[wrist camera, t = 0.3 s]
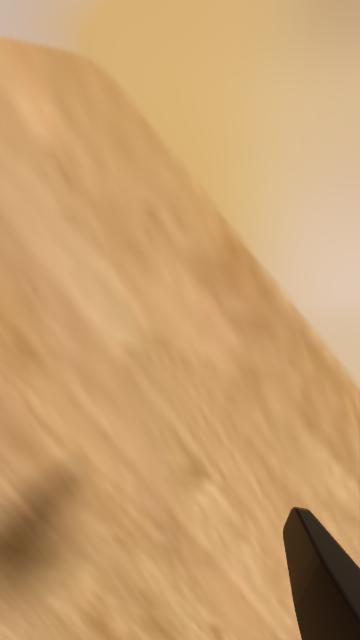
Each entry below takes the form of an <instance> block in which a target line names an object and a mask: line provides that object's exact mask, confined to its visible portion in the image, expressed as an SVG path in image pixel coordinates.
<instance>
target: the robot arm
mask: <svg viewBox="0 0 360 640" xmlns="http://www.w3.org/2000/svg"><path fill="white" fill-rule="evenodd" d="M283 539H284V545H285V552H286V558H287V564H288V571H289V577H290V583H291V590H292V596H293V602H294V607H295V612H296V617H297V621H298V625H299V629H300V634H301V638H302V640H360V568H359V567H358V566H357V565H356V563H355V562H354V561H353V560H352V559H351V558H350V556H349V555H348V554H347V553H346V552H345V551H344V549H343V548H342V547H341V546H340V545H339V544H338V543H337V541H336V540H335V539H334V538H333V537H332V536H331V534H330V533H329V532H328V531H327V530H326V529H325V528H324V526H323V525H322V524H321V523H320V522H319V521H318V519H317V518H316V517H315V516H314V515H313V514H312V513H311V512H310V511H309V510H308V509H304V508H299V507H293V508H292V509H291V511H290V513H289V516H288V518H287V521H286V523H285V525H284V529H283Z"/></svg>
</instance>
